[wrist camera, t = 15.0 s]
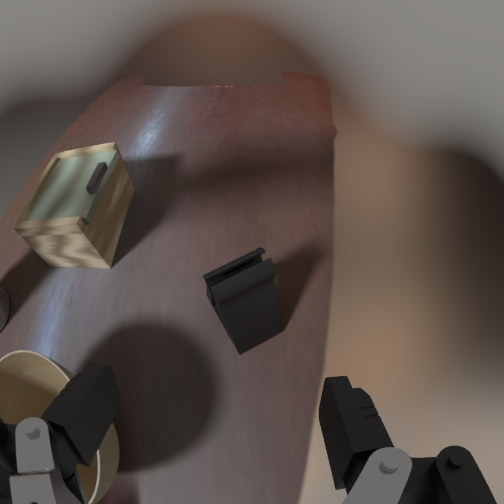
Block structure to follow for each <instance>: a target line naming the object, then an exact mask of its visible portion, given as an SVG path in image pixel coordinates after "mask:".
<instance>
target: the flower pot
mask: <svg viewBox="0 0 504 504" xmlns="http://www.w3.org/2000/svg"><path fill="white" fill-rule="evenodd" d="M73 377H75V375H74V374H72V373H71V372H70V371H68V370H67V369H66V368H64V367H63V366H61V365H60V364H58V363H56V362H55V361H53V360H51V359H50V358H48V357H46V356H44V355H42V354H40V353H37V352H34V351H29V350H18V351H14V352H11V353H9V354H7V355H5V356H4V357H2V358H1V359H0V417H1V419H2V420H3V422H4V423H8V424H15V425H18V424H19V423H20V422H21V421H23V420H24V419H27V418H30V417H36V418H40V417H41V416H42V414H43V413H44V412H45V411H46V409H47V408H48V407H49V405H50V404H51V403H52V402H53V400H54V399H55V398H56V397H57V395H59V393H60V392H61V390H62V389H64V387H65V385H66V384H67V383H68V382H69V380H70V379H71V378H73ZM119 455H120V451H119V441H118V436H117V432H116V429H115V426H114V424H113V422H112V423H111V425H110V427H109V429H108V431H107V433H106V435H105V437H104V439H103V441H102V443H101V445H100V447H99V449H98V451H97V452H96V454H95V456H94V458H93V460H92V462H91V464H90V466H89V467H87V466H85V465H82V464H79V463H78V465H77V467H76V469H77V471H78V474H79V477H80V480H81V483H82V486H83V489H84V492H85V495H86V498H87V501H88V504H96V503H97V502H98V501H100V499H101V498H102V497H103V496H104V495H105V494H106V492H107V491H108V489H109V488H110V486H111V485H112V483H113V480H114V478H115V476H116V473H117V469H118V465H119Z"/></svg>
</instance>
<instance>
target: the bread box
mask: <svg viewBox="0 0 504 504" xmlns="http://www.w3.org/2000/svg"><path fill="white" fill-rule="evenodd" d="M134 192H135V188H134V186H133V183H132V181H131V179H130V176H129V174H128V171H127V169H126V167H125V164H124V162H123V159H122V157H121V154H120V152H119V149H118V147H117V144H116V142H112V143H106V144H100V145H95V146H89V147H84V148H79V149H74V150H70V151H65V152H61V153H56V154H55V155H54V156H53V158H52V160H51V161H50V163H49V164H48V166H47V167H46V169H45V171H44V172H43V174H42V176H41V177H40V179H39V181H38V183H37V184H36V186H35V188H34V190H33V191H32V193H31V195H30V197H29V199H28V201H27V203H26V205H25V207H24V209H23V211H22V213H21V215H20V217H19V219H18V221H17V223H16V225H15V227H14V229H15V230H16V231H17V233H18V234H19V235H20V236H21V237H22V238H23V239H24V240H25V241H26V242H27V243H28V244H29V245H30V246H31V248H32V249H33V250H34V251H35V252H36V253H37V254H38V255H39V256H40V257H41V258H42V259H43V260H44V261H45V262H46V263H47V264H48V265H49V266H54V267H82V268H111V266H112V262H113V259H114V255H115V251H116V248H117V244H118V241H119V237H120V234H121V231H122V228H123V224H124V221H125V218H126V215H127V212H128V209H129V206H130V203H131V200H132V197H133V194H134Z"/></svg>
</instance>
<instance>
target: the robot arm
mask: <svg viewBox="0 0 504 504" xmlns="http://www.w3.org/2000/svg"><path fill="white" fill-rule="evenodd" d="M9 311H10V300H9V296H8V294H7V292H6V291H5V290H3V289H2V288H1V287H0V332H1V330H2V329H3V328H4V326H5V324H6V322H7V319H8V316H9ZM120 402H121V399H120V394H119V391H118V388H117V385H116V381H115V378H114V375H113V372H112V369H111V367H109V366H106V365H100V364H95V363H91V364H90V365H89V366H88V367H87V369H86V370H85V371H84V372H83V373H79V374H78V375H76V376H75V377H73V378H71V379H70V380H69V382H68V383H67V384H66V385H65V387H64V389H62V390H61V392H60V393H59V395H57V397H56V398H55V399H54V400H53V402H52V403H51V404H50V405H49V407H48V408H47V409H46V411H45V412H44V413H43V414H42V416H41V417H40V418H36V417H30V418H27V419H24V420H23V421H21V422H20V423H19V424H18V425H15V424H8V423H4V422H3V420H2V419H1V417H0V504H88V501H87V498H86V495H85V492H84V489H83V486H82V483H81V480H80V477H79V474H78V471H77V469H76V467H77V465H78V463H79V464H82V465H85V466H87V467H89V466H90V464H91V462H92V460H93V458H94V456H95V454H96V452H97V451H98V449H99V447H100V445H101V443H102V441H103V439H104V437H105V435H106V433H107V431H108V429H109V427H110V425H111V423H112V422H113V420H114V418H115V416H116V414H117V412H118V410H119V408H120ZM319 421H320V426H321V430H322V434H323V438H324V442H325V446H326V451H327V455H328V459H329V463H330V467H331V471H332V476H333V480H334V485H335V489H336V490H338V489H343V488H346V492H347V497H346V499H345V500H344V502H343V503H342V504H497V503H496V501H495V499H494V497H493V495H492V493H491V491H490V489H489V487H488V485H487V483H486V481H485V479H484V477H483V475H482V473H481V471H480V469H479V467H478V465H477V464H476V462H475V460H474V458H473V456H472V455H471V453H470V452H469V451H468V450H466V449H465V448H463V447H460V446H449V447H446V448H444V449H443V450H442V451H441V452H440V453H439V454H438V456H437V457H427V458H412V457H409V455H408V454H407V453H406V452H404V451H403V450H401V449H398V448H395V447H394V446H393V444H392V441H391V439H390V437H389V435H388V433H387V431H386V429H385V426H384V424H383V422H382V420H381V418H380V416H378V412H377V410H376V408H375V407H374V403H373V401H372V399H371V397H370V396H369V395H368V394H367V393H366V392H365V391H364V390H362V389H361V388H352V386H351V384H350V382H349V379H348V377H347V376H338V377H327V378H325V381H324V386H323V391H322V396H321V401H320V405H319Z"/></svg>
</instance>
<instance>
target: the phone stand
mask: <svg viewBox="0 0 504 504" xmlns="http://www.w3.org/2000/svg"><path fill="white" fill-rule="evenodd" d="M263 253H265V250H264V249H263V248H261V247H260V248H258V249H256V250H254V251H252V252H250V253H248V254H246V255H244V256H242V257H240V258H238V259H236V260H234V261H231V262H229V263H227V264H225V265H223V266H221V267H219V268H217V269H215V270H213V271H211V272H209V273H207V274H205V275H203V277H204V279H205V282H206V285H207V297H208V298H209V300H210V302H211V304H212V306H213V308H214V310H215V311H216V313H217V315H218V317H219V319H220V321H221V322H222V324H223V326H224V328H225V330H226V331H227V333H228V335H229V337H230V339H231V340H232V342H233V344H234V346H235V347H236V349H237V351H238V353H239V354H242V353H244V352H246V351H248V350H250V349H252V348H253V347H255V346H257V345H259V344H261V343H263V342H264V341H266V340H268V339H270V338H272V337H273V336H275V335H277V334H279V333H280V332H282V331H283V329H282V323H281V317H280V312H279V306H278V300H277V295H276V289H275V284H274V276H275V268H274V265H273V262H272V260H271V258H269V259H267V260H265V261H262V257H261V254H263Z"/></svg>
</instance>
